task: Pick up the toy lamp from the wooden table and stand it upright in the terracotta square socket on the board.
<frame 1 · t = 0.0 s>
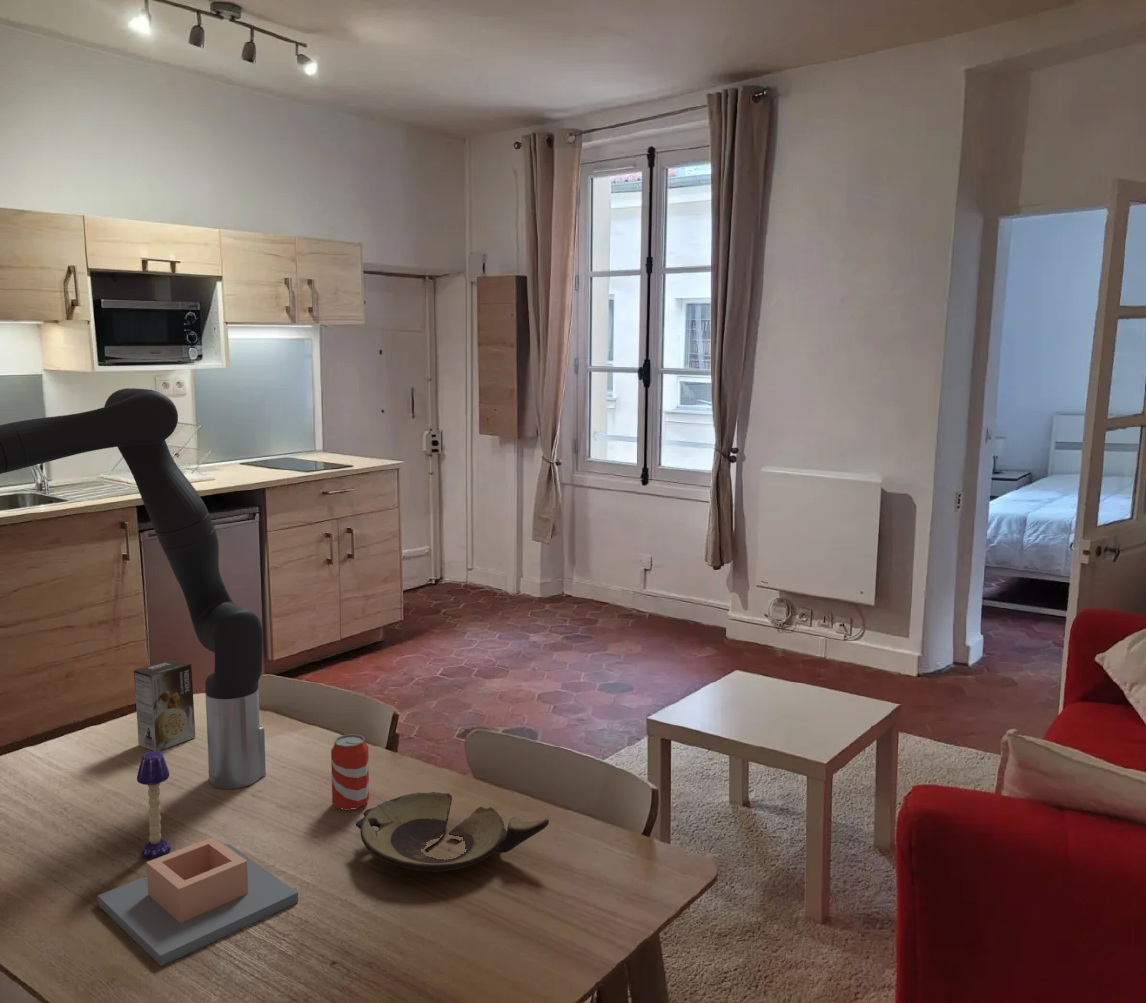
beverage can: (350, 805, 164), on the table
oil lamp: (446, 859, 147), on the table
toy lamp: (156, 854, 147), on the table
socket block: (198, 903, 133), on the table
coffee box: (167, 742, 190), on the table
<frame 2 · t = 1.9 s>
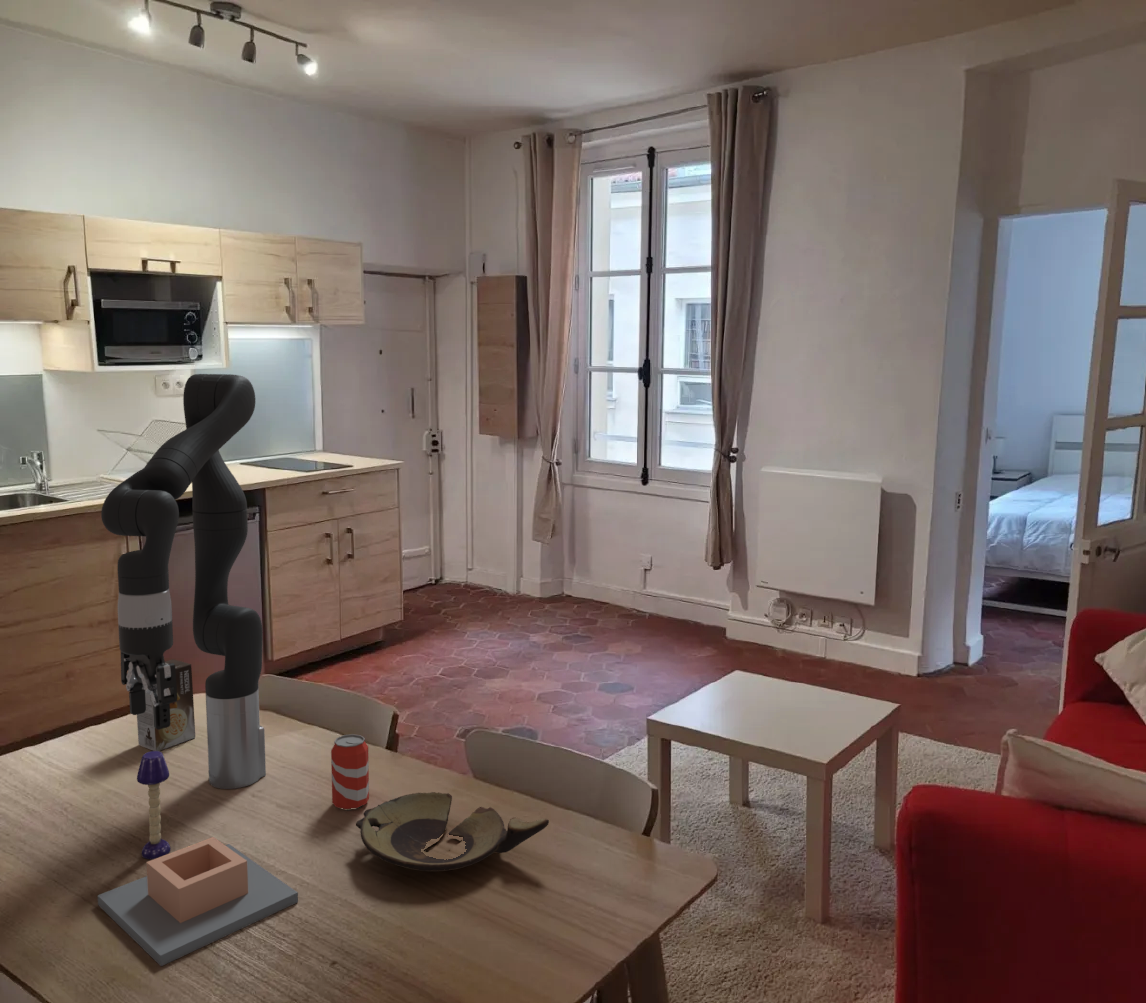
hand: (149, 720, 144), 22 cm above the table, tool pointing down, fingers open, 8 cm apart
nothing on the table moved.
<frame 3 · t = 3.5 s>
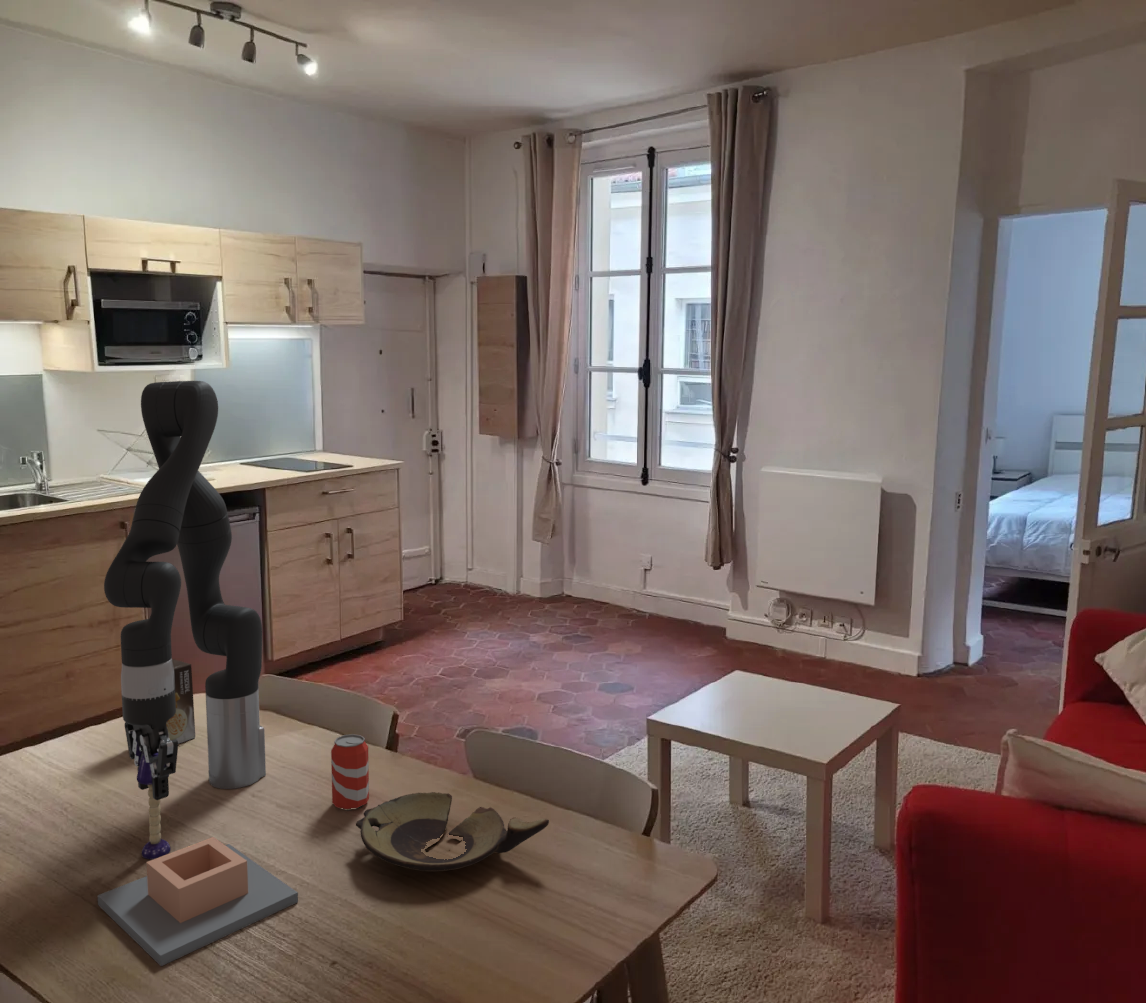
hand: (153, 792, 145), 10 cm above the table, tool pointing down, fingers closed on toy lamp, 4 cm apart
toy lamp: (156, 854, 147), on the table, touching gripper
everything else where it was.
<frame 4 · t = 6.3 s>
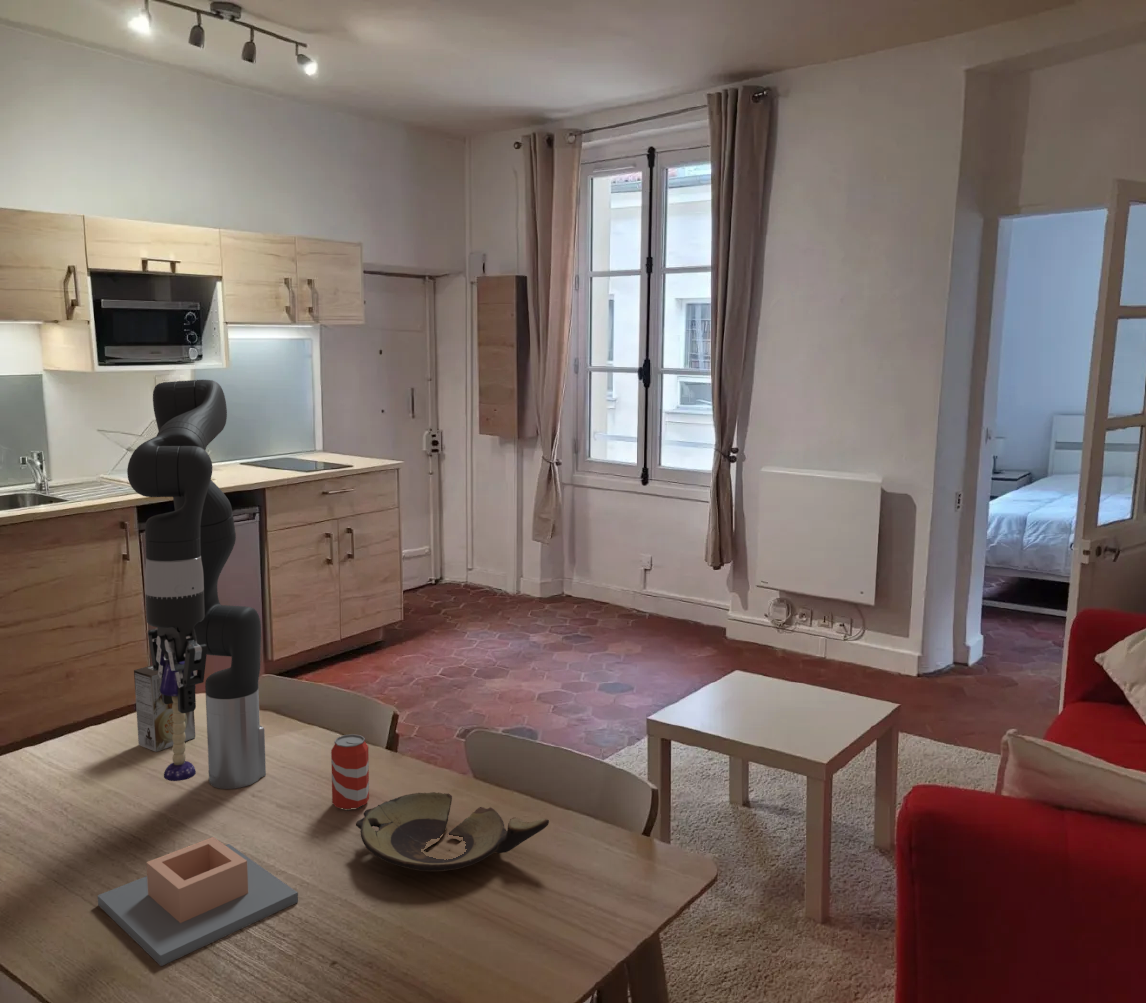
hand: (178, 706, 131), 29 cm above the table, tool pointing down, fingers closed on toy lamp, 4 cm apart
toy lamp: (180, 777, 132), point 19 cm above the table, touching gripper
everything else where it was.
when the fingers open (13 cm above the table, at t = 9.1 s): toy lamp stays where it is, resting on socket block.
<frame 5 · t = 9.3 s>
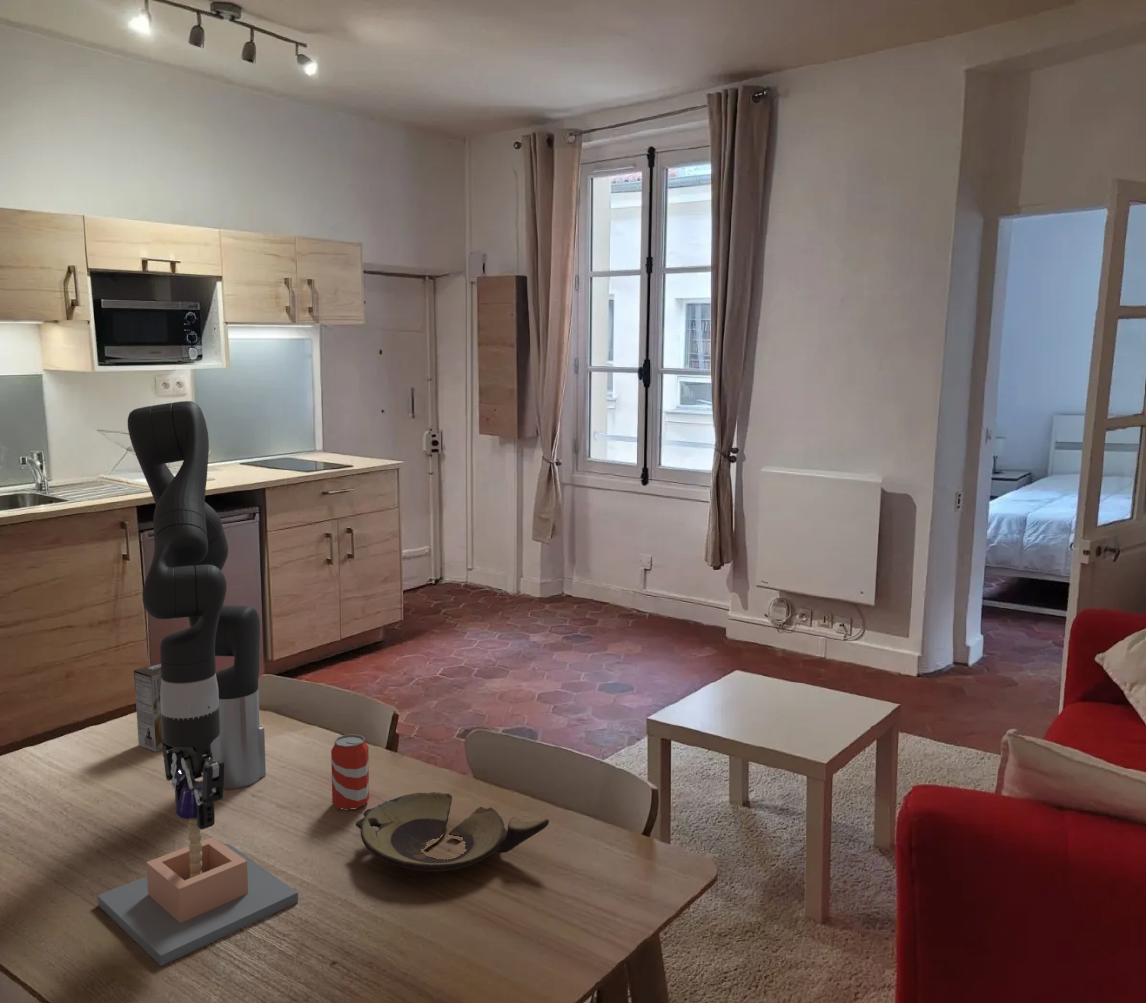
hand: (195, 818, 132), 13 cm above the table, tool pointing down, fingers open, 6 cm apart
toy lamp: (197, 894, 133), point 1 cm above the table, touching socket block
everything else where it was.
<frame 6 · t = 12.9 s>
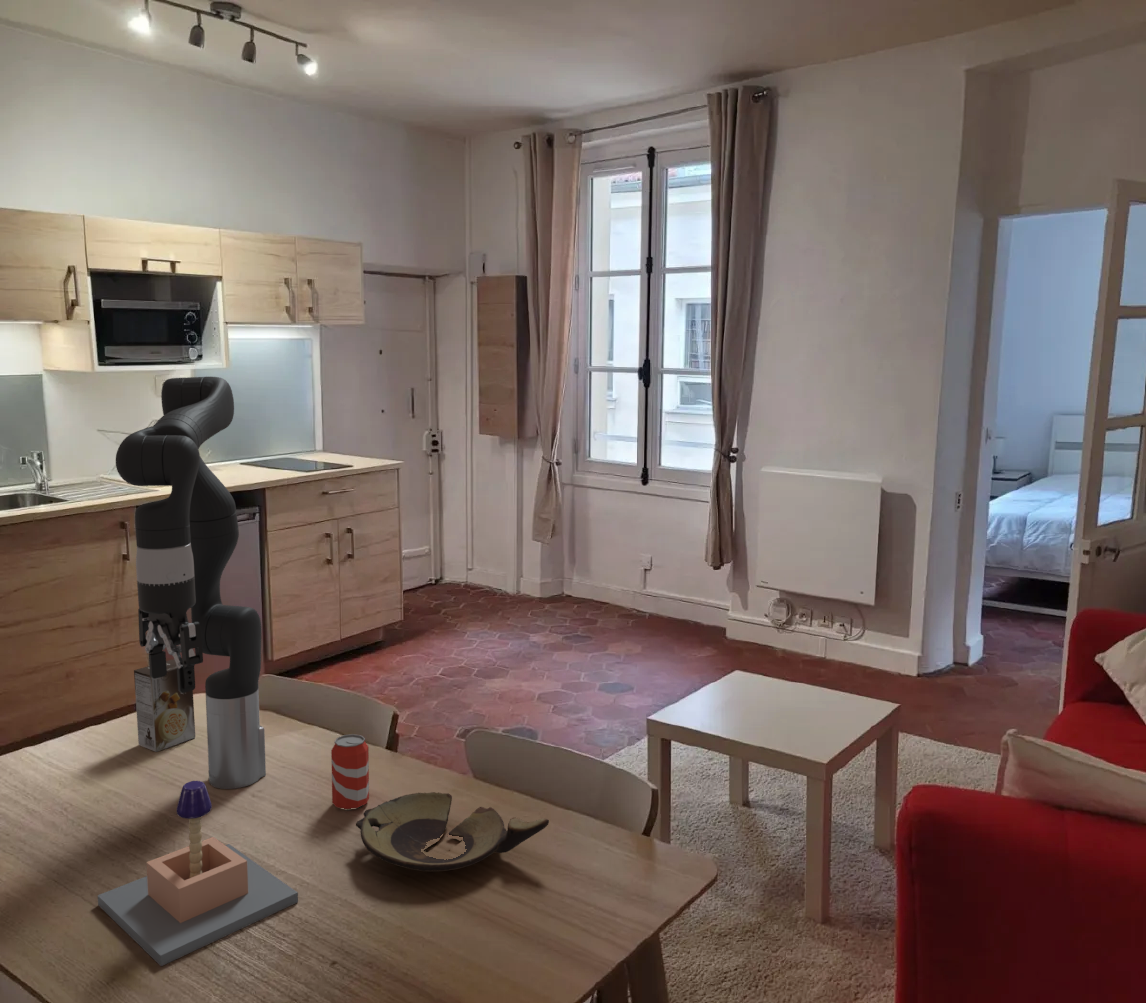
hand: (172, 683, 134), 31 cm above the table, tool pointing down, fingers open, 8 cm apart
nothing on the table moved.
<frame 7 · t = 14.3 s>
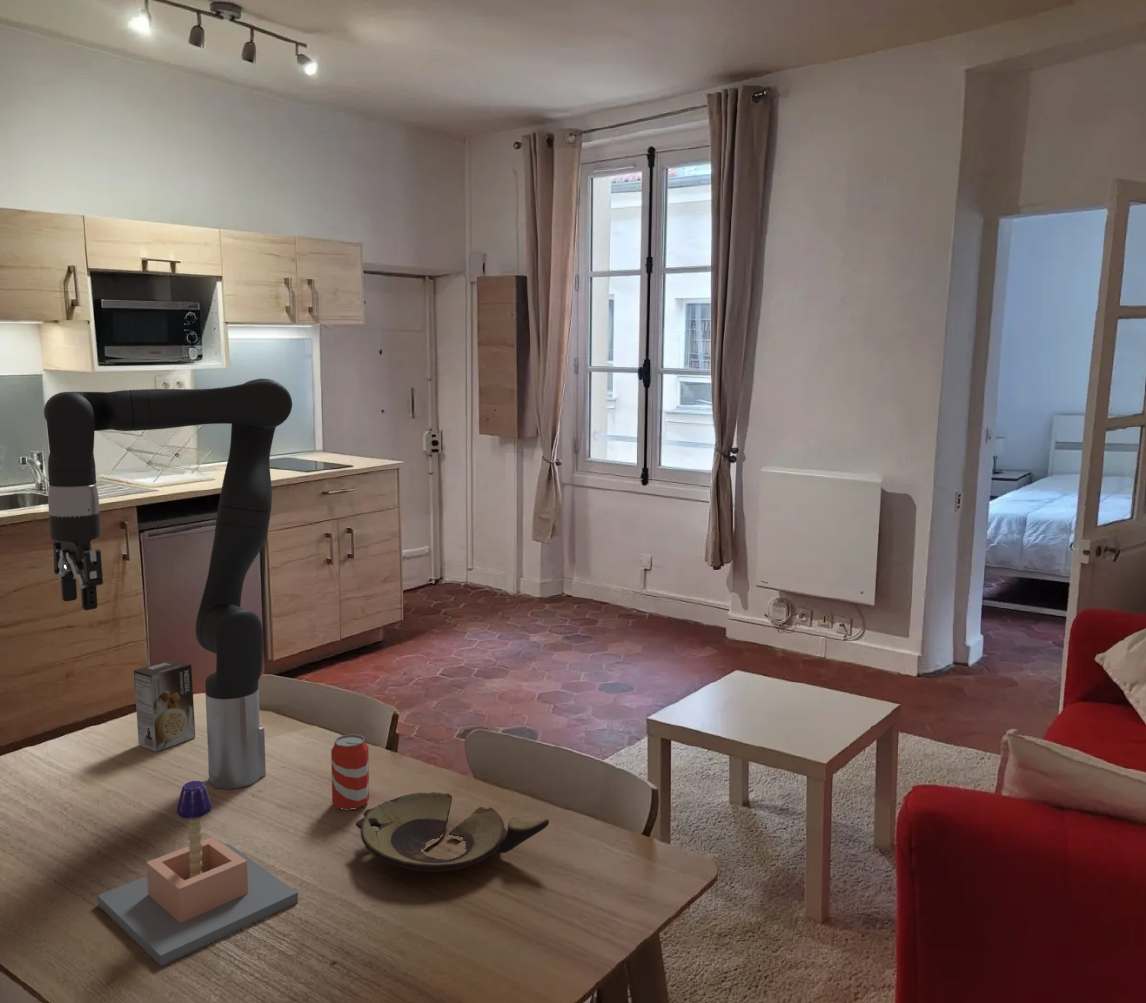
hand: (79, 604, 158), 36 cm above the table, tool pointing down, fingers open, 8 cm apart
nothing on the table moved.
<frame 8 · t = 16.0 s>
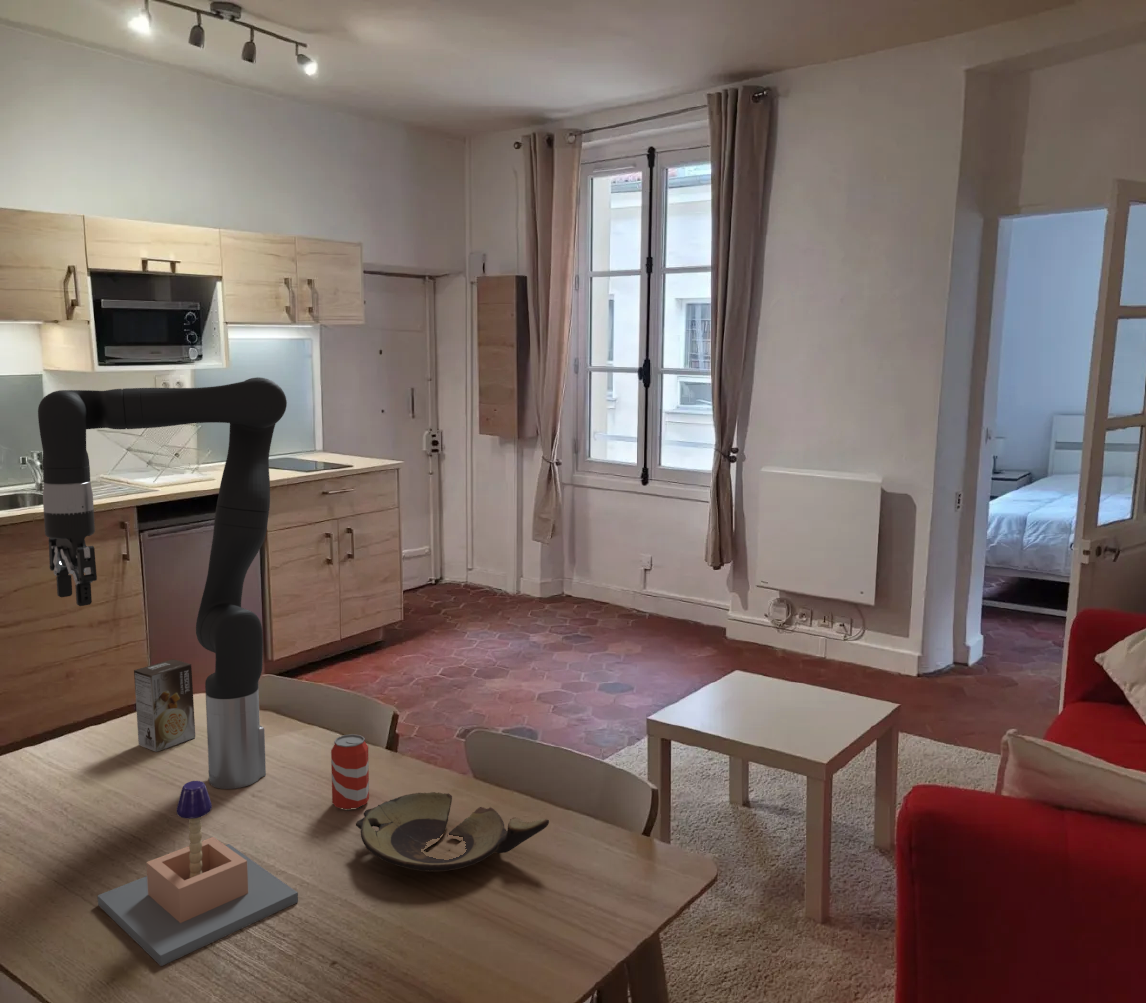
hand: (74, 600, 160), 36 cm above the table, tool pointing down, fingers open, 8 cm apart
nothing on the table moved.
at the end: toy lamp 0.2 cm off-centre on the socket block, point 1.3 cm above the socket block's base; toy lamp tilted 0°; the gripper is holding nothing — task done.
